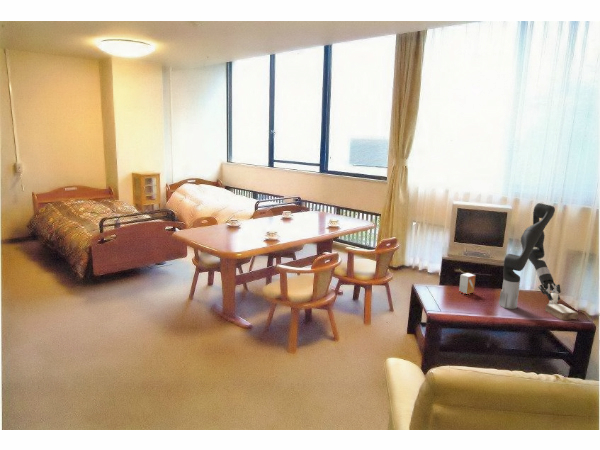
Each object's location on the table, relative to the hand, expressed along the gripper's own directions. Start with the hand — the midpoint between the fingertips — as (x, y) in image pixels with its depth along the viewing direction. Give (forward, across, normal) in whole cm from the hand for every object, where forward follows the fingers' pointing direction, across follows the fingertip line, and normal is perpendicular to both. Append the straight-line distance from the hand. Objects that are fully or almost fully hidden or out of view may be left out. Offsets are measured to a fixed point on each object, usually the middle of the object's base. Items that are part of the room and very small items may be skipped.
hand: (554, 299), depth 270 cm
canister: (+2, 0, +4) cm, 4 cm away
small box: (-15, -45, +22) cm, 52 cm away
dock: (+13, -6, -7) cm, 16 cm away
